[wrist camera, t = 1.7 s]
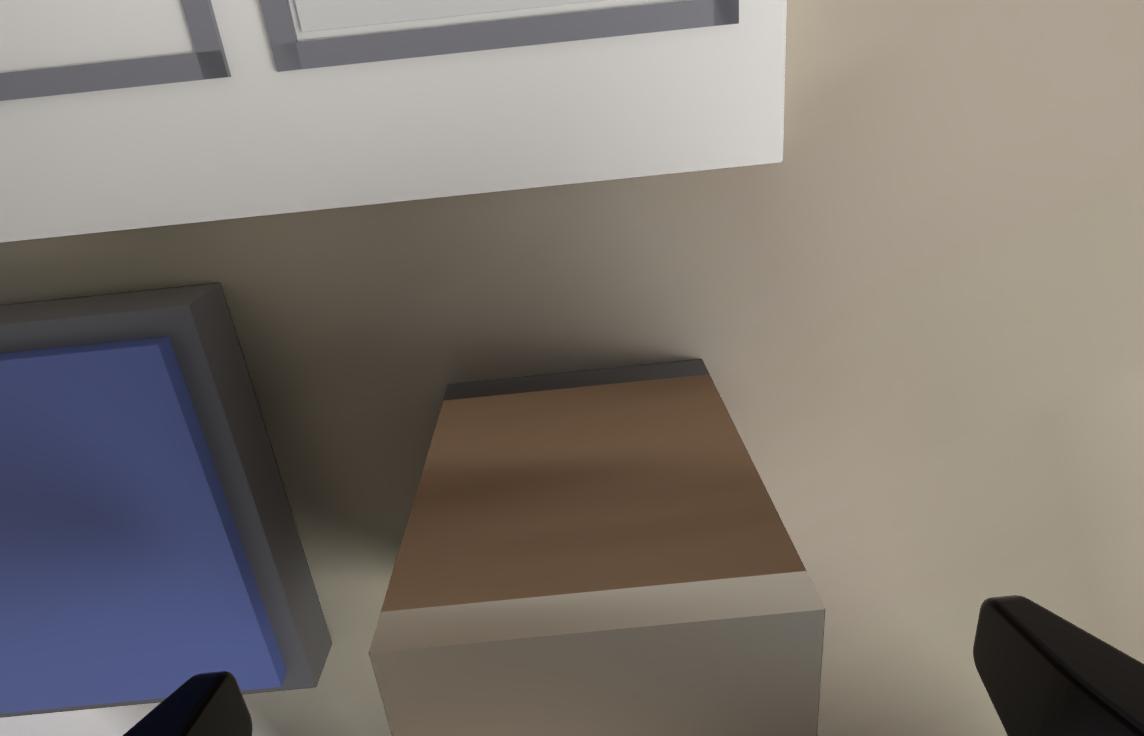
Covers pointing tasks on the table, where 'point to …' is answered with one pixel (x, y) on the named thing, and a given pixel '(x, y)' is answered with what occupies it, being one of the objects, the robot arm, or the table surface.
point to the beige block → (596, 569)
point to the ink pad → (141, 509)
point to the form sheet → (366, 102)
